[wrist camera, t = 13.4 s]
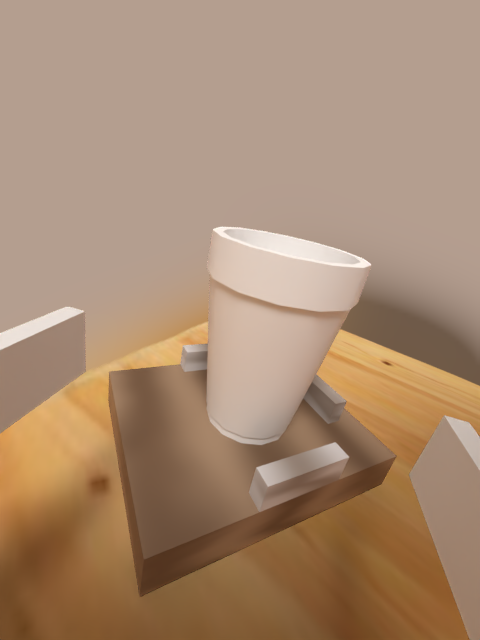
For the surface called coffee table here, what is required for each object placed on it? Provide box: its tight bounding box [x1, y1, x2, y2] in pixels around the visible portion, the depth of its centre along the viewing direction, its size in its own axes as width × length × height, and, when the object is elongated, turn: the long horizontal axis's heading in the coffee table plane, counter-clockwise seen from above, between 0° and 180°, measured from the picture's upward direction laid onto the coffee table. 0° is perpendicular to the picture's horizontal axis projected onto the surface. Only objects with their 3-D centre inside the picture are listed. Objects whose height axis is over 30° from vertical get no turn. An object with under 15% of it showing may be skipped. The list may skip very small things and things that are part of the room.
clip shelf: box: [109, 344, 396, 596], centre depth 23 cm, size 18×14×5 cm
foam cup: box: [206, 227, 372, 445], centre depth 20 cm, size 10×9×13 cm
